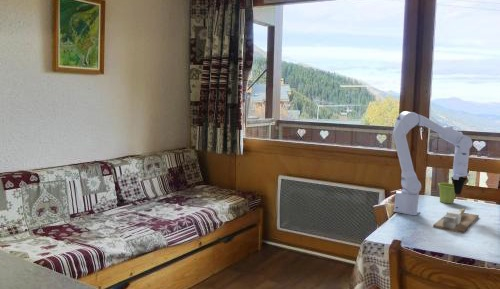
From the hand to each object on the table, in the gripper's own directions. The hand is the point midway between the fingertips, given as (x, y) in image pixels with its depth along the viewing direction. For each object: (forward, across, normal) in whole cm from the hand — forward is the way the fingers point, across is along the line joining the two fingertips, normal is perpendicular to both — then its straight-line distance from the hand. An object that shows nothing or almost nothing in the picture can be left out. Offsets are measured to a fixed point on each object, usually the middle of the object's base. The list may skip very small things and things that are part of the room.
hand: (457, 193), depth 201 cm
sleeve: (+8, -19, -3) cm, 21 cm away
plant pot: (+10, +23, +9) cm, 26 cm away
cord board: (+9, -12, -3) cm, 16 cm away
